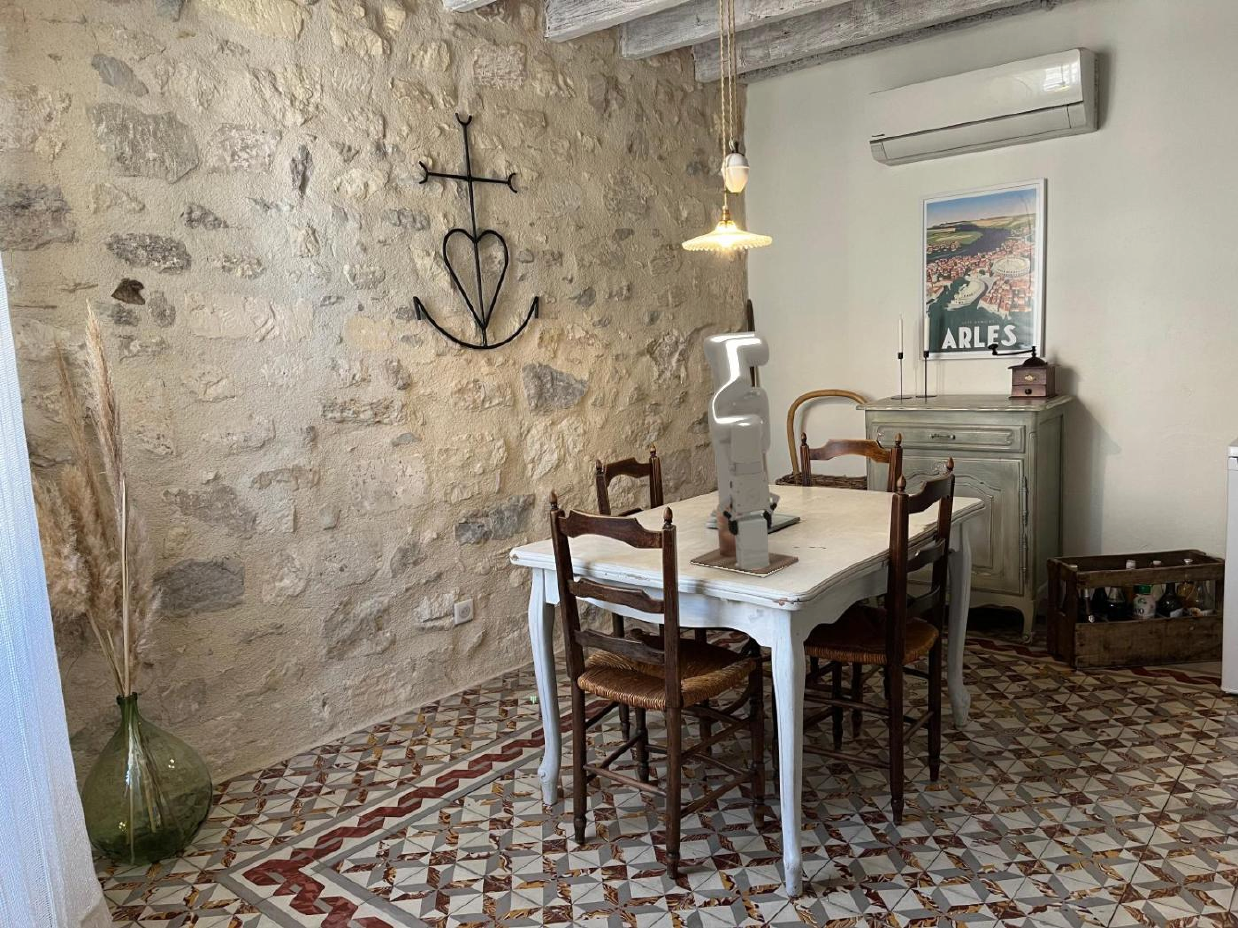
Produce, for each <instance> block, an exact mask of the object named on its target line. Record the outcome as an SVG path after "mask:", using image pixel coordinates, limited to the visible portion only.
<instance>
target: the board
mask: <svg viewBox="0 0 1238 928" xmlns="http://www.w3.org/2000/svg"><path fill="white" fill-rule="evenodd" d="M725 509H726V511H727V512H729V511H730V507H729V505H727V506H726V507H725ZM716 510H717V517H718V528H717V531H718V533H717V534H718V548H715V549H714V550H712V551H709V552H707V553H705V554H702V555H699V556H698V557H697V556H696V557H695V558H692V559H690V563H691V562H693V563H699V564H704V565H709V566H718V567H723V568H728V569H734V570H739V571H744V572H750V573H755V574H768V573H770V572H772V571H775V570H777V569H780V568H782V567H785V566H787V567H789V566H791V565H793V564H795V563H798V562H799V557H798V556H794V555H793V556H791V555H785V554H779V553H774V552H769V551H768V553H769V566H768V567H759V568H749V569H742V568H741V566H740V565H739V564H738V562H737V559H736V541H735V535H733V534H731V533H730V531H729V527H728V519H727V518H726V517H725V516H724V515H723V514H722V513H721V511H720V510H719V508H718V506H717V507H716ZM737 516H743V513H738V515H737ZM717 517H716V518H717ZM785 568H786V567H785Z"/></svg>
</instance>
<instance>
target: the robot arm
mask: <svg viewBox="0 0 1238 928" xmlns="http://www.w3.org/2000/svg"><path fill="white" fill-rule="evenodd" d="M702 343H703V344H702V345H703V348H702V349H703V354H704V358H705V359H706V362H707V364H708V366H709V368H710V370H711V374H712V381H713V395H712V397H711V398H710V400H709V404H708V406H707V419H708V421H707V422H708V430H709V436H710V438H711V442H712V447H713V452H714V457H715V465H716V475H717V491H718V496H717V497H718V504H717V507H718V508H719V510H720V511H721V513H722V514H723V515H724V516H725V517H726V518H727V519H728V527H729V531H730V533H731V534H733V535H737V521H736V520H735V518H736V516H737V515H738V513H743V516H744V515H752V513H753V512H754V513H755V512H759V511H760V512H761V511H763V513H762V516H763V517H764V518H765V519H766V520H767V530H772V524H773V522H772V521H773V518H772V516H773V514H774V511H776V508H778V504H779V501H780V498H781V497H780V495H778V494H777V493H773V492H770V486H769V482H768V478H767V477H768V476H767V472H766V471H765V470H763V462H762V461H763V460H762V458H763V457H762V454H765V453H768V451H769V450H770V448H771V443H772V442H771V424H770V423H771V420H770V404H769V403H770V402H769V397H768V394H767V392H766V390H765V389H764V388H763V387H761V386H752V385H753V383H752V376H751V369H750V367H762V366H765V365H767V364H768V362H769V360H770V347H769V343H768V341H767V339H766V337H765V336H764V334H763V333H761V332H760V331H742V332H726V333H718V334H713V335H712V334H711V335H710V336H706V337H705V339H704V340H703V342H702ZM771 499H772V500H771ZM727 505H729V507H730V511H729V512H727V511H726V509H725V507H726V506H727ZM710 517H712V518H716V520H717V521H716V520H715V523H714V525H715V528H716V529H718V517H717V509H712V511H711V513H710Z"/></svg>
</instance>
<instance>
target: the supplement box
mask: <svg viewBox="0 0 1238 928" xmlns="http://www.w3.org/2000/svg"><path fill="white" fill-rule="evenodd" d="M735 520H736V521H737V535H735V541H736V559H737V562H738V564H739V565H740V566H741V568H742V569H749V568H759V567H768V566H769V553H770V552H769V538H768V535H769V534H768V529H767V520H766V519H765V518H764V517H763V514H761V513H756V514H751V515H744V516H736V518H735ZM768 552H769V553H768Z"/></svg>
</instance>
